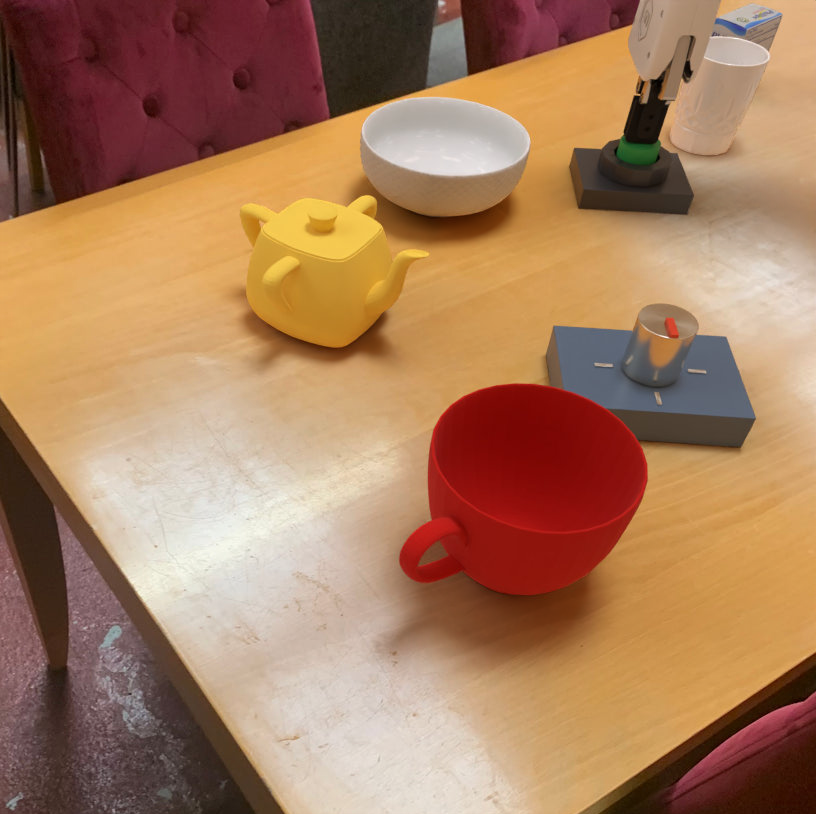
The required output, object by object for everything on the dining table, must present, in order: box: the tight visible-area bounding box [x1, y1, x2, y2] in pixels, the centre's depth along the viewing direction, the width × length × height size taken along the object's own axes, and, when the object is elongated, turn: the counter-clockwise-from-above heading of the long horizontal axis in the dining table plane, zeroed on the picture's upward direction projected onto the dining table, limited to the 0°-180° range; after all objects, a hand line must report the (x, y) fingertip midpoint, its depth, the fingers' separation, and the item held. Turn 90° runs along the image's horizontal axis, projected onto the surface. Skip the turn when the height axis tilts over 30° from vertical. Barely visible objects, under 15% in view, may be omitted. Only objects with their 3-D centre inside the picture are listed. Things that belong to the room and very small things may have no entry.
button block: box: [568, 138, 695, 216], centre depth 93 cm, size 11×9×4 cm
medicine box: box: [711, 2, 784, 53], centre depth 108 cm, size 8×4×9 cm, turn 130°
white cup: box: [668, 36, 771, 156], centre depth 98 cm, size 8×8×10 cm
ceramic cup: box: [398, 382, 649, 596], centre depth 56 cm, size 13×17×10 cm
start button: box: [616, 134, 662, 165], centre depth 91 cm, size 4×4×2 cm
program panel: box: [545, 325, 757, 448], centre depth 71 cm, size 14×10×3 cm
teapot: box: [239, 194, 430, 349], centre depth 75 cm, size 14×13×10 cm
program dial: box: [621, 303, 700, 387], centre depth 68 cm, size 4×4×5 cm
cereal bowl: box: [359, 96, 532, 218], centre depth 90 cm, size 17×17×7 cm
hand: (639, 138), depth 90 cm, fingers closed
